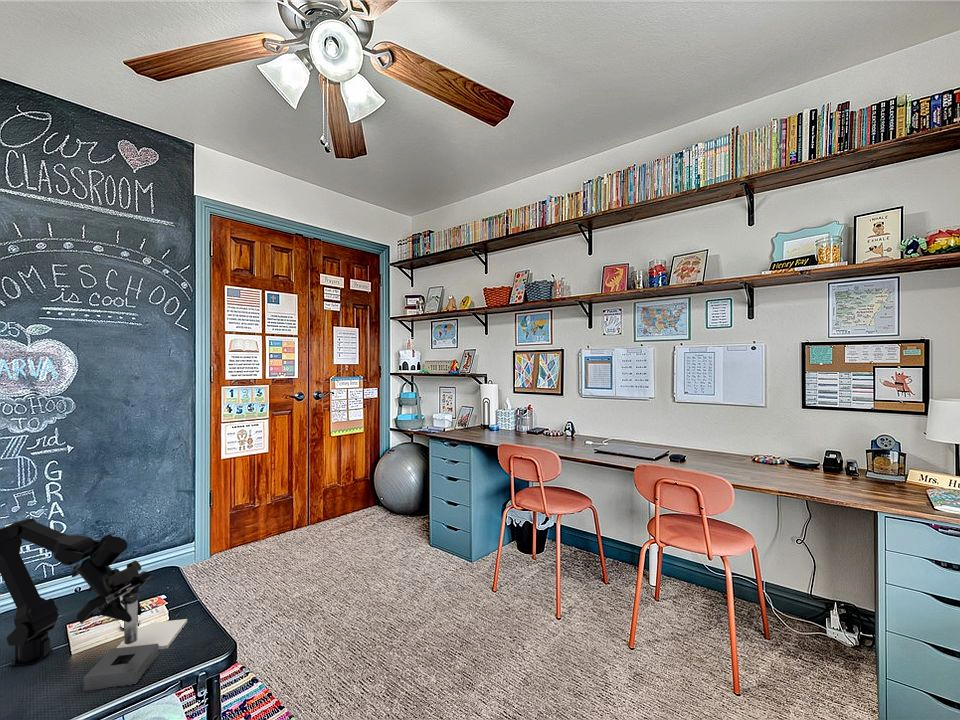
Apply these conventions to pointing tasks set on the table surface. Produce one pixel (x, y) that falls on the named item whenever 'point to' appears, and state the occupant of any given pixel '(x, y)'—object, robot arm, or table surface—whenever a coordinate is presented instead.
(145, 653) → the grey square frame block
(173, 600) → the table surface
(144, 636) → the pad
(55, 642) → the table surface
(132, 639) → the black knobbed metal rod
